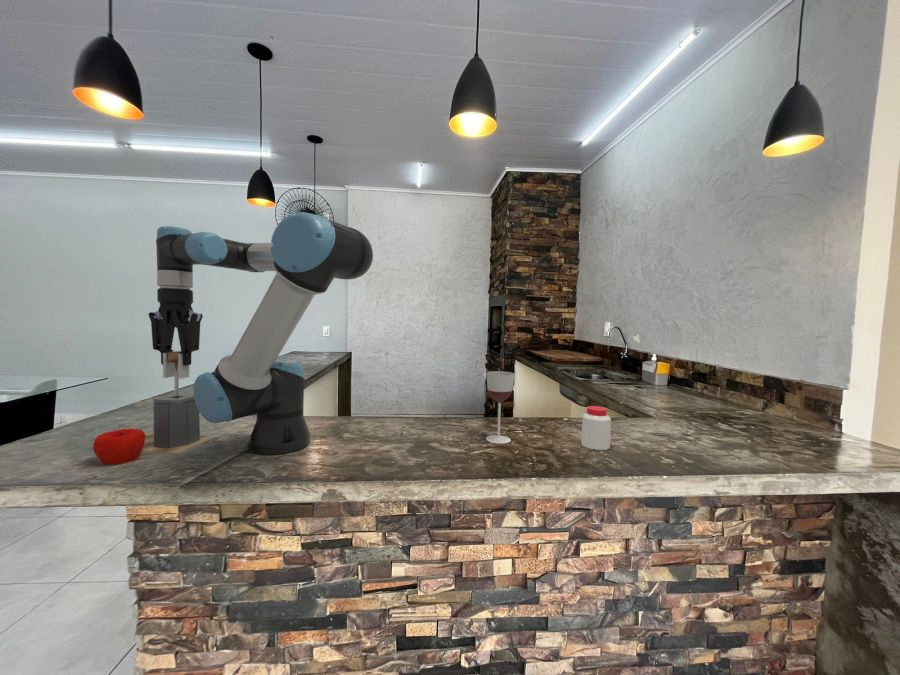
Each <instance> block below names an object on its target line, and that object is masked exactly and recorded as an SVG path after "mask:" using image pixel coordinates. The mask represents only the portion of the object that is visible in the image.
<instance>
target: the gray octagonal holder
mask: <svg viewBox="0 0 900 675" xmlns="http://www.w3.org/2000/svg"><path fill="white" fill-rule="evenodd" d="M152 401H153V405H152V407H153V408H152V410H153V433H154V447H156V448H174V447H180V446H186V445H190V444H192V443H194V442H197V441H199V440H200V436H201V434H200V430H201V429H200V426H201V425H200V423H201V422H200V412H199V411H198V409H197V406H196V404H195V399H194V394H182V393H179V398H175V393H173V394H170V395H166V396H162V397H157V398H153V400H152Z"/></svg>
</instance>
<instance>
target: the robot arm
mask: <svg viewBox="0 0 900 675" xmlns="http://www.w3.org/2000/svg"><path fill="white" fill-rule="evenodd" d="M156 230H157V231H156V240H155V244H156V268H157V270H156V276H157V277H156V285H157V286H158V287H159V288H158V289H156V290H157V291H156V292H157V295H156V297H157V300H156V301H157V302H158V303H159V307H158V310H156V311H153V312H152V311H151V312H150V311H149V313H148V315H147V316H148V318H149V320H150V326H151V327H150V328H151V338H152V340H151V341H152V349H153V350H154V351H156V350H157V351H158V352H159V353H160V363H161V365H162V378H163V379H168V378H174V363H171V362H168V352H172V351H174V349H172V347H173V341H174V335H175V329H177V330H176V331H177V335H178V340H179V346H180V352H179V354H178V378H179V380H180V379H185V378H186V379H187V378H190V366H191V365H192V353H193V352H195V351H199V350H200V339H201V337H200V336H201V321H202V319H203V318H204V316H203V315H204V314H203V313H197V312H195V311H194V309H193V308H192V307H193V306H192V304H193V303H194V292H193V290H192V288H193V286H194V281H193V280H194V277H193V276H194V275H193V274H194V273H193V272H194V271H193V270H194V269H193V268H194V265H199V266H200V265H203V266H210V267H216V268H217V267H219V268H224V269H232V270H238V271H239V270H240V271H244V272H250V273H265V272H275V276H274V277H273V279H272V281H271V283H270V285H269V286H268V288H267V291H266V292H265V294H264V296H263V297H262V299H261V302H260V303H259V305H257V306H258V307H257V308H256V311H255V312H254V314H253V315H252V317H251V319H250V321H249V323H248V325H247V327H246V328H245V329H244V331H243V333H242V335H241V337H240V339H239V341H238V343H237V345H236V346H235V348H234V349H233V352H232V354H227V355H226V356H224V357H222V358H221V359H220V360H219V362H218V363H217V365H216V367H215V369H214V371H212V372H210V371H207V372H204V373H201V374H199V375H198V376H197V377H196V379H195V380H194V382H193V384H194V385H193V395H194V399H195V404H196V406H197V409H198V411H199V415H201V416H202V417H203V419H204V420H206V421H207V422H210V423H214V424H220V423H224V422H226V423H228V422H231V421H233V420H237V419H242V418H247V417H249V416H254V415H256V421H255V424H254V426H253V428H252V429H253V430H252V432H251V434H250V437H249V441H248V444H249V445H248V450H250V452H251V453H254V454H259V455H280V454H287V453H293V452H297V451H299V450H302V449H304V448H306V447H307V446H309V445H310V443H311V433H310V430H309V428H308V425H307V422H306V419H305V416H304V402H305V400H304V398H305V397H304V394H305V392H304V391H305V376H304V367H303V365H302V364H301V363H299V362H290V361H277V359H278V357H279V356H280V354H281V352H282V350H283V349H284V347H285V345H286V343H287V342H288V340H289V339H290V337H291V335H292V334H293V332H294V330H295V329H296V327H297V326H298V324H299V322H300V320H301V319H302V317H303V316H304V313H305V312H306V310H307V309H308V307H310V306H309V305H310V304H311V302H312V301H313V299H314V298H315V296H316V295H321V294H325V293H326V292H327V291H328V288H329V287H330V286H331V284H332V282H333V281H334V279H339V280H355V279H359V278H360V277H362V276H364V274H366V273H367V272H368V271H369V270H370V267H371V266H372V263H373V260H374V250H373V247H372V244H371V243H370V240H369V239H368V237H366V235H365V234H363V233H362V232H361V231H360V230H357V229H356V228H353V227H350V226H348V225H344V224H342V223H339V222H336V221H333V220H331V219H328V218H326V217H325V216H322V215H319V214H314V213H309V212H302V211H299V212H296V213H295V212H294V213H291V214H289V215H288V216H287V215H286V216H285V217H284V218H283V219H282V220H281V221H280V222H279V223H278V224H277V226H276V227H275V229H274V230H273V233H272V236H271V240H270V242H256V243H255V242H250V243H248V242H240V241H235V240H231V239H227V238H223V237H221V236H220V235H218V234H217V233H214V232H211V231H210V232H209V231H208V232H205V231H199V232H195V233H194V232H193V233H192V231H191V230H189V229H187V228H184V227H179V226H170V225H169V226H167V225H165V226H164V225H163V226H160V227H158V228H157V229H156Z"/></svg>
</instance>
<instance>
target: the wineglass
mask: <svg viewBox="0 0 900 675" xmlns="http://www.w3.org/2000/svg"><path fill="white" fill-rule="evenodd" d="M514 381H515V373H514V372H510V371H503V370H502V371H500V370H499V371H497V370H495V371H494V370H493V371H492V370H491V371H487V372H486V385H487V388H486V389H487V392H488V395H489V396H490V398H491V399H492V400H494V401H496V402H497V407H498V408H497V433H496V434H497V435H496V434H494V435H489V436H487V437H485V440H486V441H487V442H490V443H493V444H508V443H511V442H512V440H511V439H512V438H510V437H508V436H505V435H501V410H502V409H501V408H502V403H503V402H504V401H506V400H507V399H509V398H510V397H511V396H512V392H513V389H514Z"/></svg>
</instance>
